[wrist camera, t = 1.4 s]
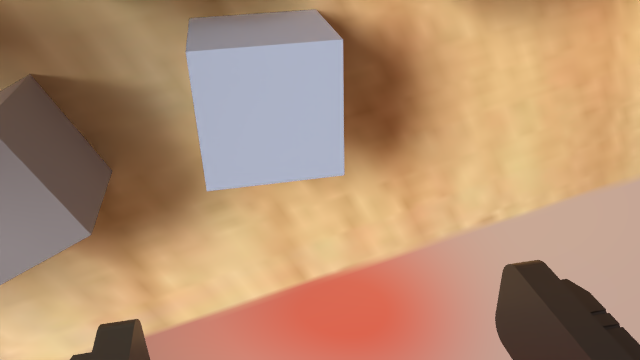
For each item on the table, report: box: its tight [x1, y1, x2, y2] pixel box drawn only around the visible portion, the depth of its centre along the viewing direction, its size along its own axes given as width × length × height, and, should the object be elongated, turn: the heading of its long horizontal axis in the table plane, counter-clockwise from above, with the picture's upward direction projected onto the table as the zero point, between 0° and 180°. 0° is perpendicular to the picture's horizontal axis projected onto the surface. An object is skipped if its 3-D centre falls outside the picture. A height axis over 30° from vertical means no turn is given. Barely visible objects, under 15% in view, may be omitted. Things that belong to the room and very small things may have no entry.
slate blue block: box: [186, 9, 344, 191], centre depth 24 cm, size 6×6×6 cm
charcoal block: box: [0, 74, 112, 285], centre depth 24 cm, size 6×6×6 cm
